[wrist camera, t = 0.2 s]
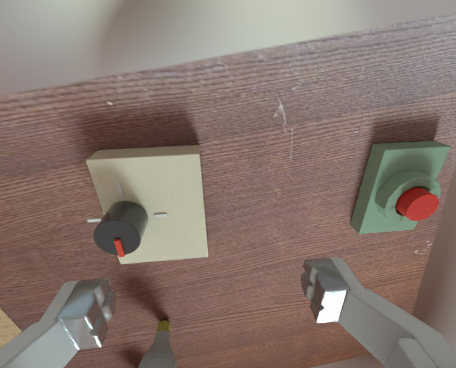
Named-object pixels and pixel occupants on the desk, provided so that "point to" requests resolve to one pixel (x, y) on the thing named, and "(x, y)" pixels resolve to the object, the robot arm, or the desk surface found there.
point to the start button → (417, 203)
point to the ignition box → (396, 183)
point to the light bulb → (160, 350)
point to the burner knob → (121, 228)
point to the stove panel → (156, 197)
